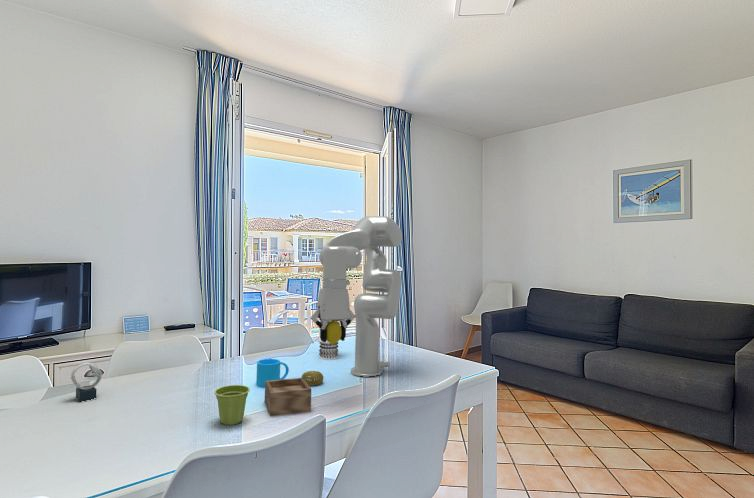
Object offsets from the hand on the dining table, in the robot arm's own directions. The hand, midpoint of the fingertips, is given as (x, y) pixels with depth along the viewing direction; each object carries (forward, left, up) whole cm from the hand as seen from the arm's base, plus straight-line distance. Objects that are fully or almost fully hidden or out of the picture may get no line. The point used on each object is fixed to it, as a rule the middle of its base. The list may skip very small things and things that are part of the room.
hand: (332, 340), depth 137 cm
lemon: (0, 0, -2) cm, 2 cm away
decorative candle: (-18, -52, -20) cm, 58 cm away
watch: (+70, -30, -20) cm, 79 cm away
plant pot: (+31, +5, -20) cm, 37 cm away
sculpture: (0, -19, -20) cm, 28 cm away
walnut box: (+14, 0, -20) cm, 25 cm away
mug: (+13, -24, -20) cm, 34 cm away
